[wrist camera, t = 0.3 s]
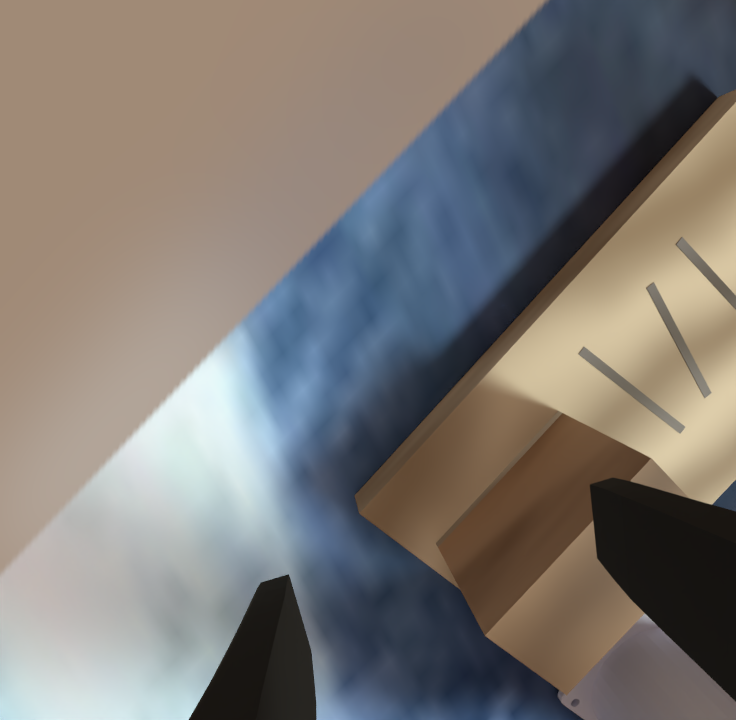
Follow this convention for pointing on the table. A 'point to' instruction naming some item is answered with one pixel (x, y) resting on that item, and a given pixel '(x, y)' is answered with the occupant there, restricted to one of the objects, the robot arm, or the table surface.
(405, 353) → the table surface
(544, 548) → the block
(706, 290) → the board
